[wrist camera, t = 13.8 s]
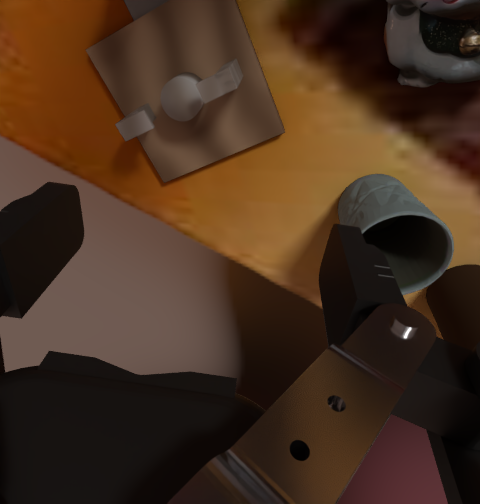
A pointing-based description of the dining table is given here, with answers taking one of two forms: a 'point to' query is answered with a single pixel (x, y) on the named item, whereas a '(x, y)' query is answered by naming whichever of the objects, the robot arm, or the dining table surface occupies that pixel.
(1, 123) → the dining table surface
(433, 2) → the lucky cat figurine
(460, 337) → the olive oil
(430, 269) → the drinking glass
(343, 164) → the dining table surface
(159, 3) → the mat
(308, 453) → the robot arm
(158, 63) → the square mounting plate
